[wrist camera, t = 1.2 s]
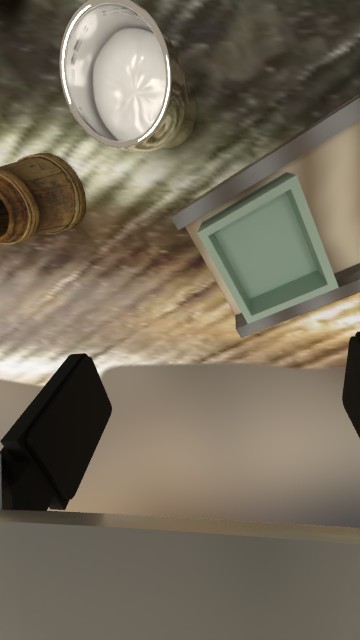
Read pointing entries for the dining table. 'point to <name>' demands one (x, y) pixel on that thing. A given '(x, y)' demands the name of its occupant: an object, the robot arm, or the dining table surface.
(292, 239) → the box
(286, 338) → the dining table surface
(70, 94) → the beer glass
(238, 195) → the bay
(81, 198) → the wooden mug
